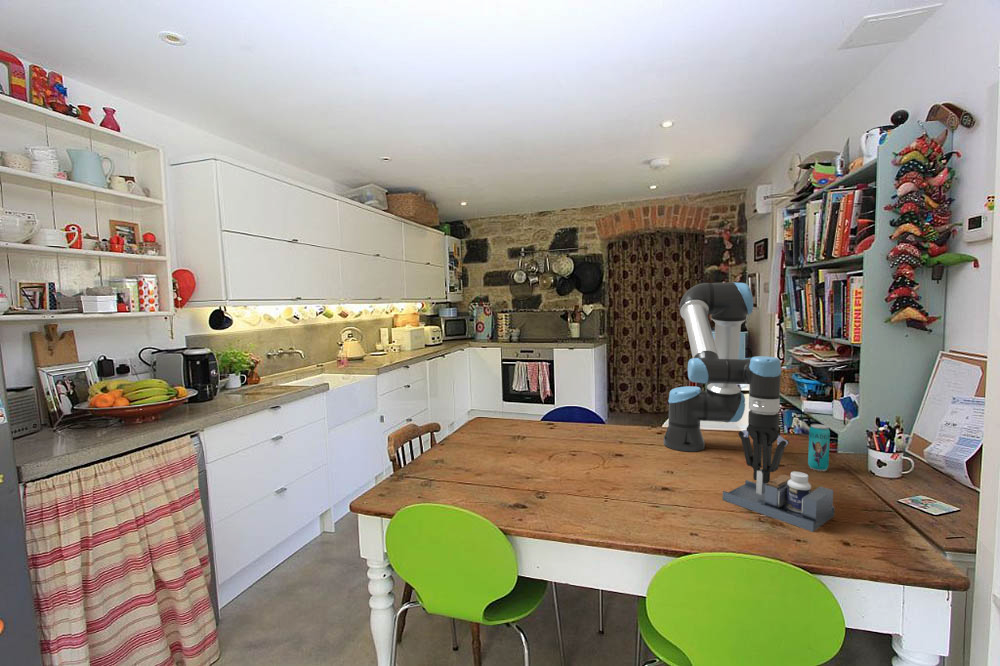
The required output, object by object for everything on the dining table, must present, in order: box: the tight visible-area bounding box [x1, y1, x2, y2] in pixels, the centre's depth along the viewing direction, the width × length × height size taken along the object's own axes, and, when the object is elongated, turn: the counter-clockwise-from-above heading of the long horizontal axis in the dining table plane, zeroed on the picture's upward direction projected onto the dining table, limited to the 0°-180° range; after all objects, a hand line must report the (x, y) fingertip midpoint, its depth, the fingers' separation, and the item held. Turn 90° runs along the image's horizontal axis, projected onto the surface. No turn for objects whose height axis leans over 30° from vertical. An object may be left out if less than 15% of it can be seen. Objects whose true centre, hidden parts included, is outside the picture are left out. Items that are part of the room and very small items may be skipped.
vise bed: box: [722, 479, 835, 533], centre depth 127 cm, size 23×14×8 cm, turn 36°
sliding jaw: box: [765, 474, 791, 509], centre depth 126 cm, size 3×11×7 cm, turn 126°
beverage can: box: [807, 423, 831, 472], centre depth 155 cm, size 6×6×15 cm
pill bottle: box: [787, 470, 812, 513], centre depth 123 cm, size 5×5×10 cm
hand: (761, 492), depth 131 cm, fingers closed
